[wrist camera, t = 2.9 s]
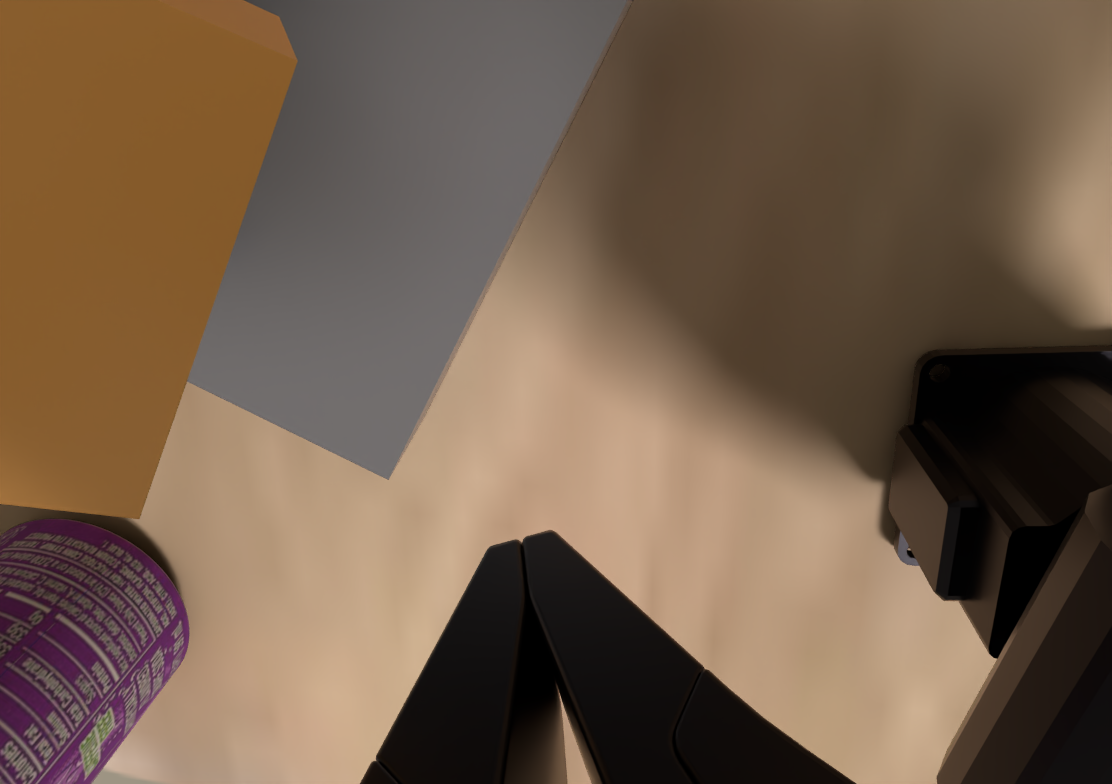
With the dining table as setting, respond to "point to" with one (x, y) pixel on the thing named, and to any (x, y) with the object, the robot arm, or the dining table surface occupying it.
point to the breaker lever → (118, 225)
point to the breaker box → (390, 205)
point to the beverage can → (79, 647)
